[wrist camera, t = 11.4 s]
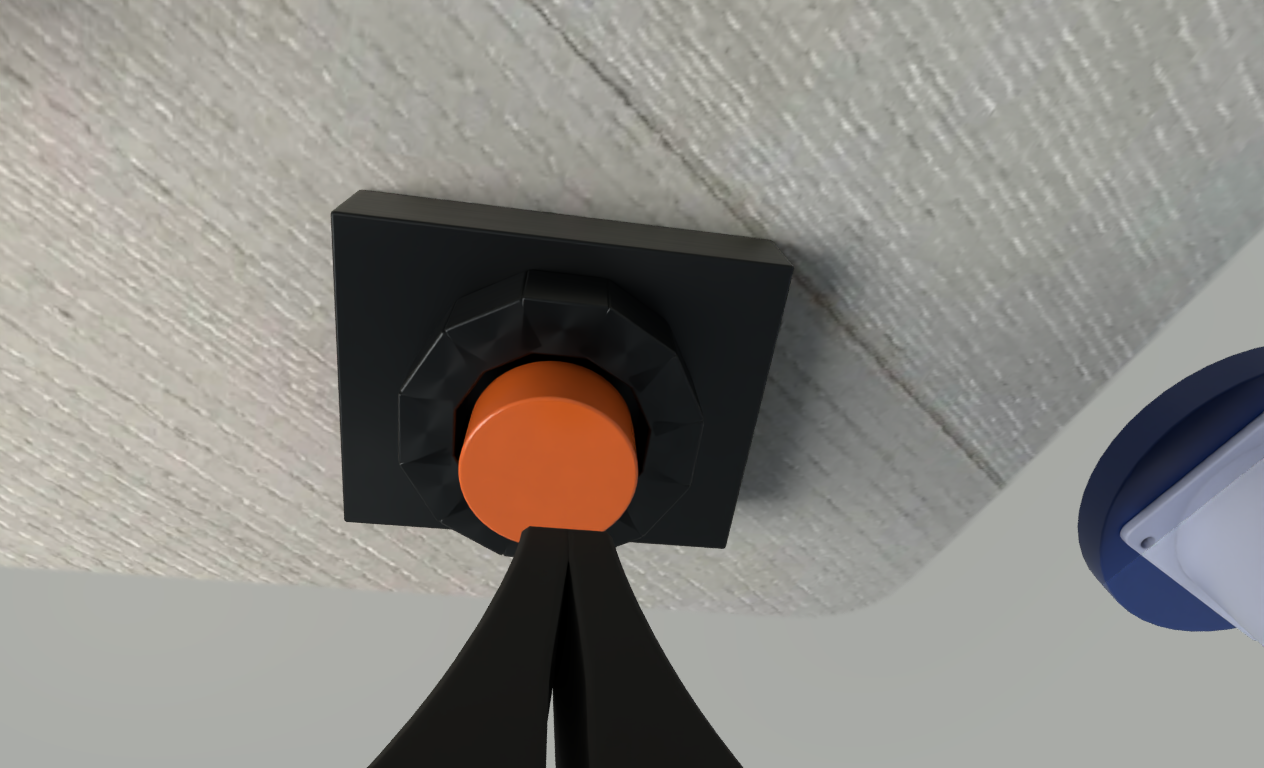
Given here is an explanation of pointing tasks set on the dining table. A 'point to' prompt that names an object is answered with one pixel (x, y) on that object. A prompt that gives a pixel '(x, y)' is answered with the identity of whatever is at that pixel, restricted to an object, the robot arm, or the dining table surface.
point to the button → (549, 451)
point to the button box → (547, 351)
